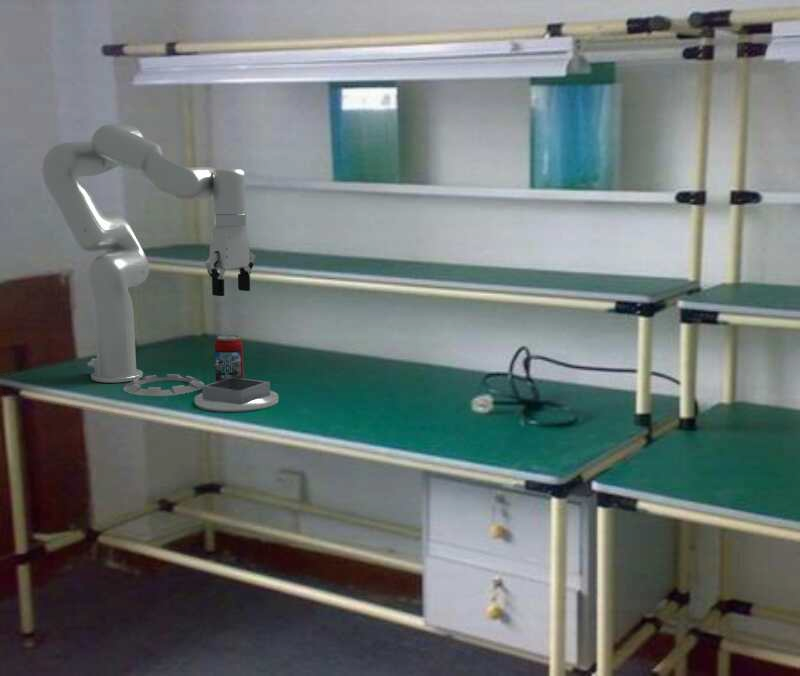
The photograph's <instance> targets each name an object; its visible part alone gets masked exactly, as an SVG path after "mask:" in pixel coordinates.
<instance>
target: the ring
mask: <svg viewBox="0 0 800 676" xmlns="http://www.w3.org/2000/svg"><path fill="white" fill-rule="evenodd" d="M157 382H182V383H183V382H184V383H188V384H189V385H187V386H185V385H184V384H181V385H174V386H171V388H170V389H162V387H161V386H159V387H157V386H156V387H155V386H154V387H153V386H149V387H148V388H147V389H146V388H145V389H144V388H142V386H141V385H144V384H149V383H157ZM204 385H206V384H205V383H204V382H203V381H201V380H199V379H197V378H195V377H193V376H189V375H186V376H185V377H183V376H182V375H180V374H175V373H174V374H170V373H169V374H166V377H157V374H154V375H147V376H144V377H141V378H140V379H136V380H133V381H130V383H127V384H125V385H124V386H123V388H122V390H123V391H124V392H125V393H126V394H130V395H135V396H141V397H142V396H143V397H170V396H179V394H181V395H186V394H185V393H187V394H191V393H195V392H198V391H200V390H202V386H204ZM197 390H198V391H197ZM194 391H195V392H194ZM190 392H191V393H190Z"/></svg>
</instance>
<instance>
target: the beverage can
mask: <svg viewBox="0 0 800 676" xmlns="http://www.w3.org/2000/svg"><path fill="white" fill-rule="evenodd" d="M243 348H244V347H243V342H242V340H241V338H240V336H239V335H235V334H233V335H232V334H225V335H224V334H223V335H219V336H217V337H216V340H215V342H214V366H215V367H214V371H215V372H214V373H215V374H214V375H215V382H217V381H221V380H224V379H227V378H230V377H235V378H243V379H244V353H243V350H244V349H243Z"/></svg>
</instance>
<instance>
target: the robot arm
mask: <svg viewBox="0 0 800 676" xmlns="http://www.w3.org/2000/svg"><path fill="white" fill-rule="evenodd" d="M119 166H120V167H122V168H123V169H126V170H129V171H130V172H132V173H135V174H137V175H138V176H140V177H143V178H144V180H146V181H147V182H148V183H149V185H151V186H152V187H154V188H156V189H157V190H159V191H161V192H164V193H165V194H167V195H170V196H172V197H174V198H177V199H180V200H185V201H194V200H195V201H196V200H204V199H213V227H212V229H211V235H210V241H209V257H208V259H207V260H206V261H204V262H205V263H204V264H205V267H206V269H207V273H208V274H209V279H211V287H212V288H211V291H212V294H211V295H212V296H217V297H223V296H225V279H224V278H223V277H224V275H225V273H226V271H233V270H238V272H239V273H237V288H238V289H237V290H238V291H244V292H251V291H250V290H251V275H252V273H253V271H252V269H253V267H254V262H255V259H256V254H254V253H253V252H251V251H250V242H249V233H248V228H247V204H246V202H247V201H246V200H247V199H246V198H247V197H246V192H247V191H246V174H245V171H244V170H243V169H240V168H215V167H211V166H193V167H192V166H191V167H185V166H184V165H181V164H178V163H176V162H174V161H172V160H169V159H167V158H166V157H164V156H163V150H162V148H161V146H160V145H159V144H158V143H156V142H154V141H151V140H149V139H147V138H145V137H144V136H143V133H141V131H140V130H139V129H138V128H137V127H135V126H133V125H130V124H113V123H112V124H105V125H102V126H99V127H98V128H97V129H96V130H95V131H94V132H93V134H92V137H91V141H68V142H62V143H58V144H56V145H54V146H52V147H51V148H50V149H49V150H48V151H47V153H46V154H45V156H44V159H43V162H42V177H43V180H44V185H45V187H46V189H47V191H48V192H49V194H50V196H51V198H52V199H53V200H54V202H55V204H56V205H57V207H58V209H59V211H60V213H61V215H62V217H63V219H64V221H65V223H66V225H67V226H68V228H69V230H70V233H71V234H72V236H73V239H74V240H75V242H76V244H77V246H79V248H80V249H82V250H83V251H84V252H87V253H94V252H102V251H105V253H102V254H100V255H99V256H96V257H95V258H94V259H93V260H92V261H91V263H90V265H89V267H88V276H87V277H88V282H89V286H90V291H91V295H92V303H93V315H94V326H95V327H94V329H95V347H96V349H95V350H96V358H91V359H90V361H88V362H87V367H88V368H94V372H92V373H91V374H90V376H91V378H90V379H91V380H92V381H94V382H97V383H98V382H99V383H127V382H132V381H134V380H136V379H139V380H141V379H142V378H143V376H144V372H143V371H142V370H141V369H137V357H136V353H137V352H136V335H135V334H136V333H135V314H134V305H133V300H132V297H131V295H130V292H129V288H132V287H137V286H139V285H141V284H143V283H144V282H146V280H147V279H148V276H149V272H150V263H149V260H148V258H147V256H146V254H145V251H144V249H143V247H142V246H141V244H140V242H139V240H138V238H137V237H136V234H135V232H134V230H133V229H132V228H133V227H131V225H130V223H129V221H128V220H127V219H126V218H125V217H124V216H123V215H122V214H120V213H117V212H115V211H102V210H100V208H99V207H98V205H97V203H96V202H95V200H94V198H93V197H94V196H93V195H92V194H91V192H90V191H89V190H88V188H87V187H86V186H84V185H83V183H81V181H80V180H79V178H81V177H89V176H91V177H93V176H98V175H102V174H105V173H106V172H109V171H112V170H113V169H115V168H117V167H119Z"/></svg>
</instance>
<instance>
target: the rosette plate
mask: <svg viewBox="0 0 800 676" xmlns="http://www.w3.org/2000/svg"><path fill="white" fill-rule="evenodd" d="M278 402H279V394H278V393H277V392H275V391H274V390H271V381H266V380H256V379H250V378H244V377H243V378H235V377H230V378H227V379H224V380H221V381H217V382H216V381H214V382H211V383H208V384H205V385H204V386H202V389H201V392H200V393H199V394H196V396H194V405H195V407H197V408H198V409H201V410H204V411H210V412H217V413H242V412H243V413H244V412H252V411H253V412H254V411H261V410H264V409H268V408H271V407H273V405H274V406H276V405H277V404H278Z"/></svg>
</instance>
